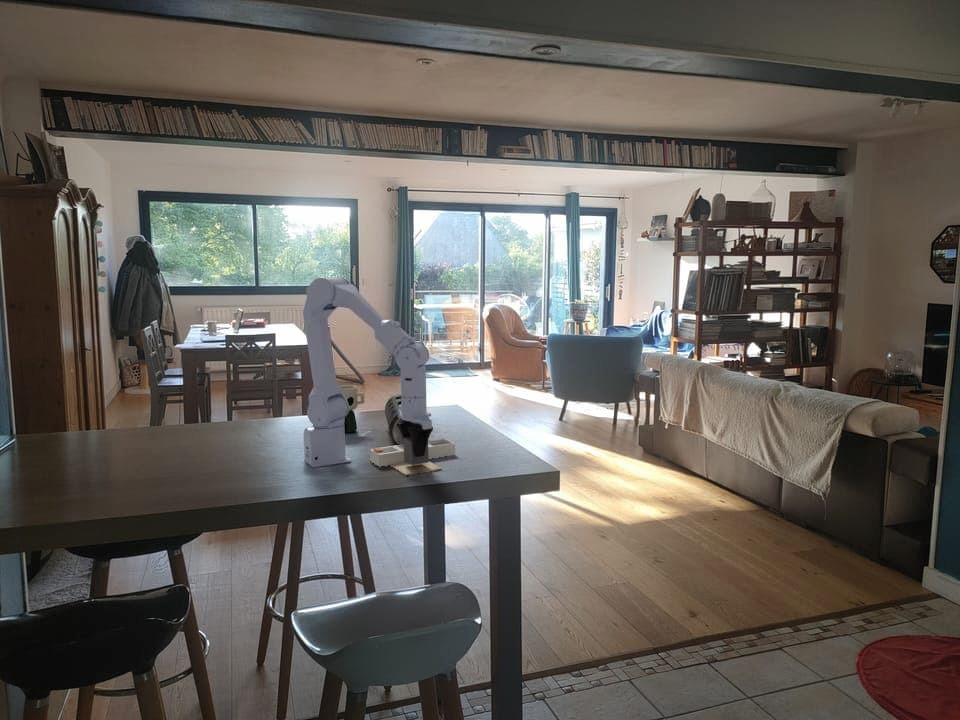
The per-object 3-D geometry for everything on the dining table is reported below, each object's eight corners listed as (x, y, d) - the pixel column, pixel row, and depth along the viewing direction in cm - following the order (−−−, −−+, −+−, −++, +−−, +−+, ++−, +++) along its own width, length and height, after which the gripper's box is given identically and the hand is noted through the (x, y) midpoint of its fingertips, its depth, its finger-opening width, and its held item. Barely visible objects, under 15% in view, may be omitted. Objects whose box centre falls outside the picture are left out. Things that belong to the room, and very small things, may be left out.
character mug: (326, 435, 190) (324, 390, 189) (326, 430, 197) (324, 385, 196) (365, 433, 192) (364, 388, 191) (365, 428, 199) (363, 384, 198)
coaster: (405, 476, 152) (405, 474, 152) (390, 466, 160) (390, 464, 160) (441, 469, 157) (441, 468, 157) (424, 460, 164) (424, 459, 164)
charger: (411, 465, 155) (411, 441, 155) (404, 460, 159) (403, 437, 158) (428, 462, 157) (428, 438, 157) (420, 458, 161) (420, 435, 160)
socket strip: (379, 467, 159) (378, 452, 159) (370, 461, 164) (369, 446, 164) (455, 455, 169) (455, 440, 168) (444, 449, 174) (444, 435, 174)
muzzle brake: (417, 427, 200) (416, 392, 199) (428, 451, 173) (427, 411, 172) (384, 429, 198) (383, 394, 197) (390, 454, 171) (389, 413, 170)
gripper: (443, 399, 152) (444, 458, 154) (416, 389, 164) (417, 444, 166) (414, 402, 148) (416, 463, 150) (389, 392, 161) (390, 448, 163)
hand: (415, 453), depth 158 cm, fingers closed on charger, 4 cm apart
